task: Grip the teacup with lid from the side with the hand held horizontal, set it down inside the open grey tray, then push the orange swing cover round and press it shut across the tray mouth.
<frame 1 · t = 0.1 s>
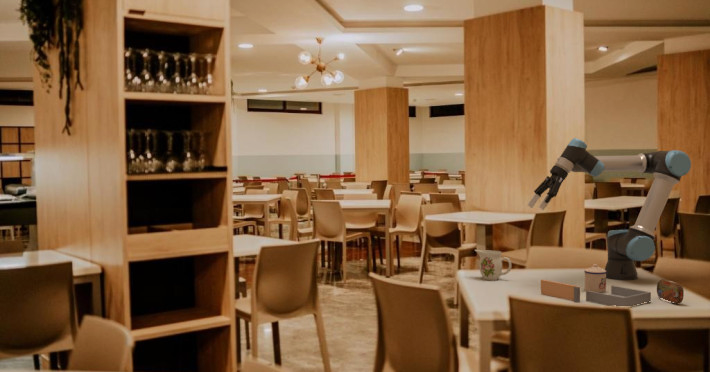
hand: (535, 207, 288), 36 cm above the table, tool tilted 35°, fingers open, 13 cm apart
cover: (559, 290, 264), point 3 cm above the table, hinge at 90.0°
tin: (670, 302, 254), on the table
pitcher: (492, 279, 307), on the table
grey tray: (617, 301, 256), on the table
teacup with lid: (596, 290, 277), on the table
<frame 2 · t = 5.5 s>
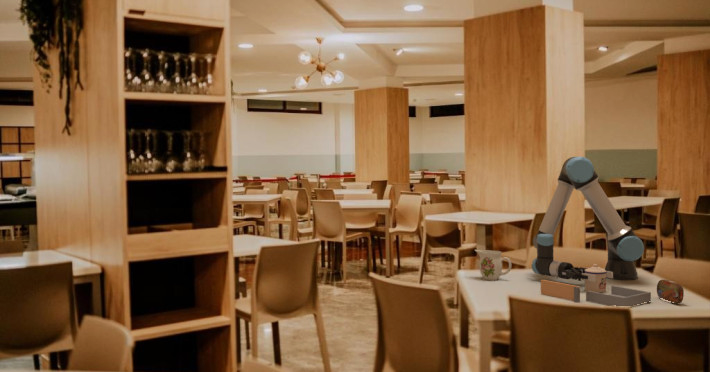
hand: (604, 276, 274), 7 cm above the table, tool horizontal, fingers closed on teacup with lid, 12 cm apart
teacup with lid: (596, 290, 277), on the table, touching gripper
everything else where it was.
when the fingers open (8 cm above the table, at t = 10.9 s): teacup with lid drops 1 cm, resting on grey tray.
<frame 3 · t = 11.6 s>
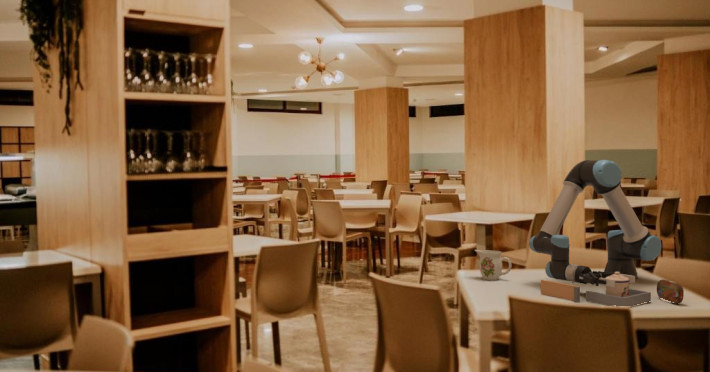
hand: (624, 281, 253), 9 cm above the table, tool horizontal, fingers open, 13 cm apart
teacup with lid: (618, 300, 255), resting on grey tray, touching gripper
everything else where it was.
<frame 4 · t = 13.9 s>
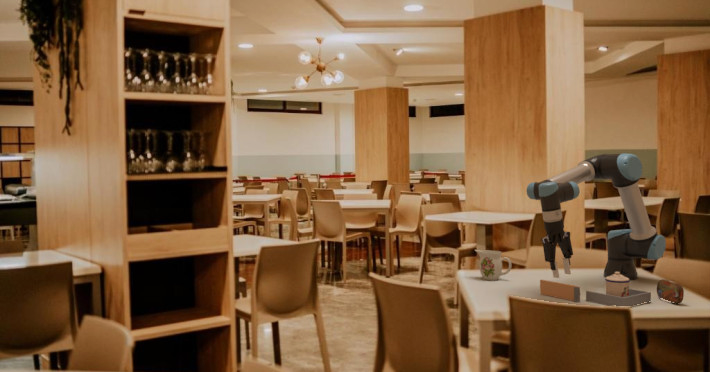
hand: (562, 275, 259), 10 cm above the table, tool pointing down, fingers open, 5 cm apart
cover: (559, 290, 264), point 3 cm above the table, hinge at 91.2°
teacup with lid: (618, 300, 255), resting on grey tray
everything else where it was.
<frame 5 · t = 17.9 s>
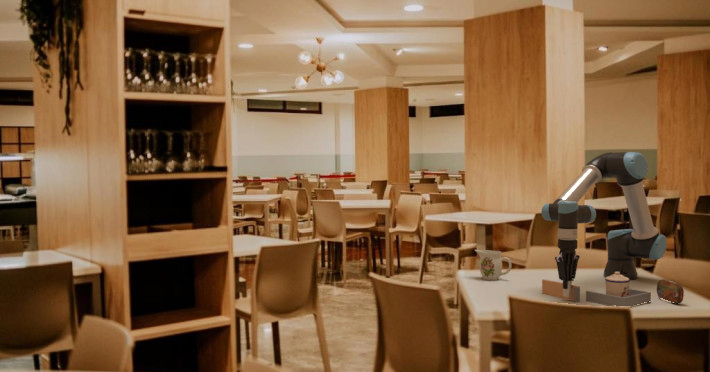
hand: (566, 296, 258), 2 cm above the table, tool pointing down, fingers closed
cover: (560, 290, 265), point 3 cm above the table, hinge at 87.3°, touching gripper
everything else where it was.
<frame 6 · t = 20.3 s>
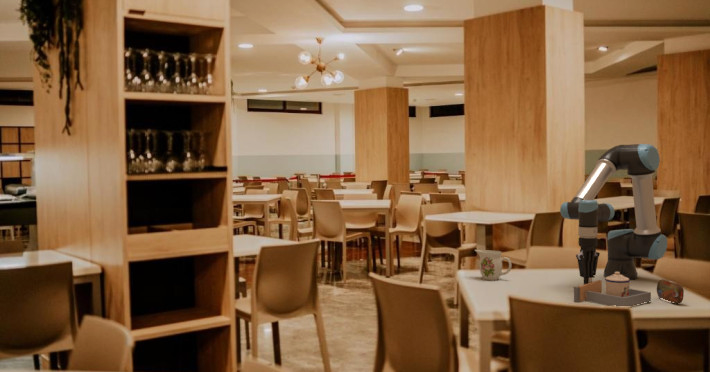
hand: (587, 292, 266), 1 cm above the table, tool pointing down, fingers closed
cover: (590, 290, 263), point 3 cm above the table, hinge at 9.9°, touching gripper
everything else where it was.
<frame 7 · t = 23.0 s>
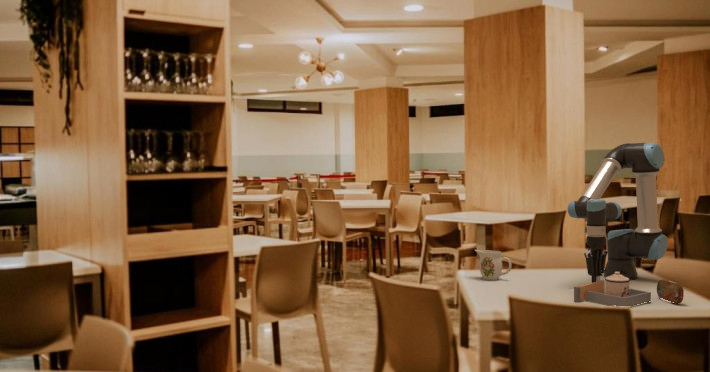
hand: (595, 291, 269), 1 cm above the table, tool pointing down, fingers closed
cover: (591, 290, 263), point 3 cm above the table, hinge at 6.3°, touching gripper
everything else where it was.
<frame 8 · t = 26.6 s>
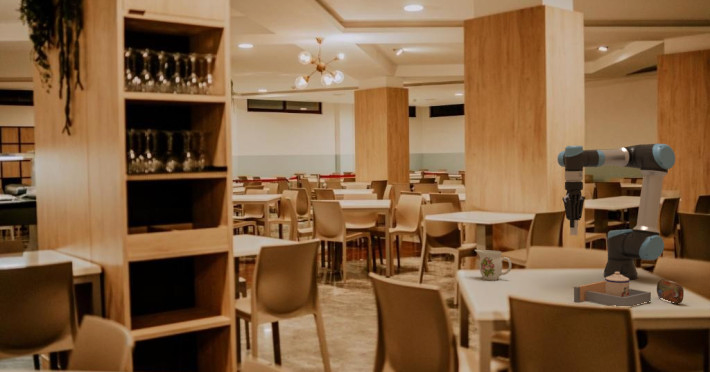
hand: (573, 234, 277), 24 cm above the table, tool pointing down, fingers closed
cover: (592, 290, 262), point 3 cm above the table, hinge at 2.5°
everything else where it was.
at the end: teacup with lid inside the target area (0.7 cm from its centre), resting on grey tray; teacup with lid tilted 0°; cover at +2° (first picture: +90°) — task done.
